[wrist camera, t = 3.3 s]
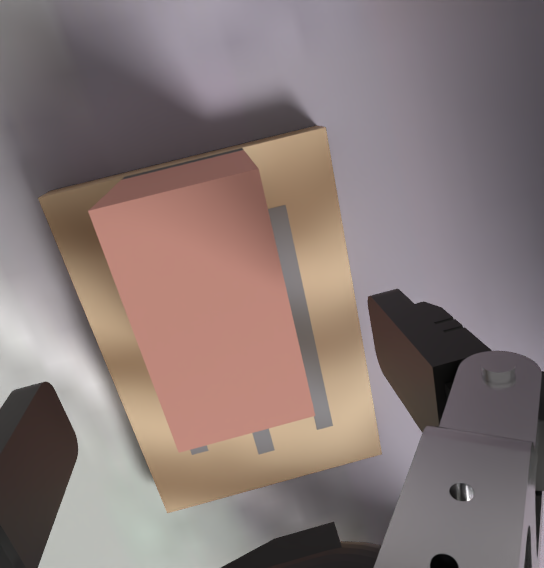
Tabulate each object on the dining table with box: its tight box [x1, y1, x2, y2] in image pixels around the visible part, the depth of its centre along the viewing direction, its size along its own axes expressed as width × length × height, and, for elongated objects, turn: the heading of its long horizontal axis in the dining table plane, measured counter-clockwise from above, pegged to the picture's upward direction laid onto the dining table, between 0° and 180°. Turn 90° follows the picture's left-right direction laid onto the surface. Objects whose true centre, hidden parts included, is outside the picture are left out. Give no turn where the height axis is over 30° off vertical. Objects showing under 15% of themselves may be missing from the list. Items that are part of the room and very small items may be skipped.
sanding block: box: [88, 148, 315, 453], centre depth 17 cm, size 8×4×6 cm, turn 13°
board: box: [38, 126, 382, 513], centre depth 22 cm, size 16×11×2 cm
